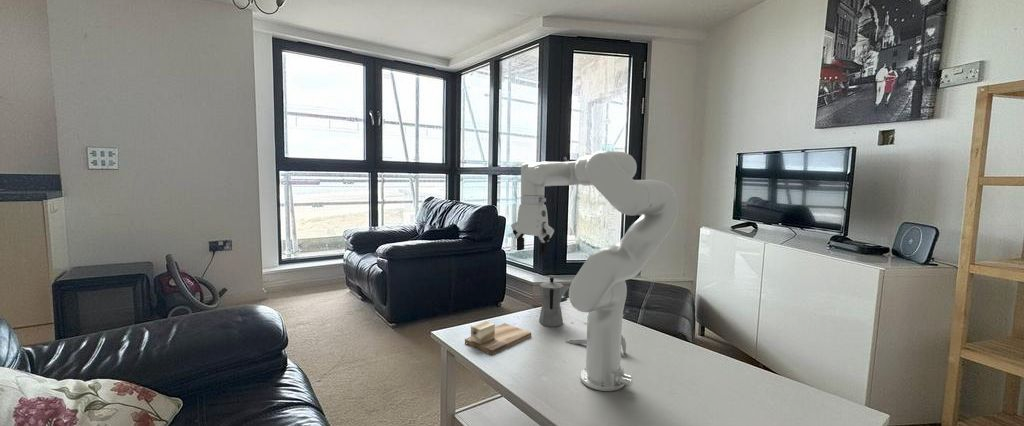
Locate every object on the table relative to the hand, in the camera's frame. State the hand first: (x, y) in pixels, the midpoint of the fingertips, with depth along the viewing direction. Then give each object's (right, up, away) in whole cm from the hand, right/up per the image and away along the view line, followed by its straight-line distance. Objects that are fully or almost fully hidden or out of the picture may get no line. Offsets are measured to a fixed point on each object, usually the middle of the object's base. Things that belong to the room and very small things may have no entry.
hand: (531, 252), depth 139 cm
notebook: (-11, -32, +8) cm, 34 cm away
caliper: (+22, -33, +3) cm, 39 cm away
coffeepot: (+9, -30, +24) cm, 39 cm away
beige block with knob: (-16, -30, +5) cm, 35 cm away
